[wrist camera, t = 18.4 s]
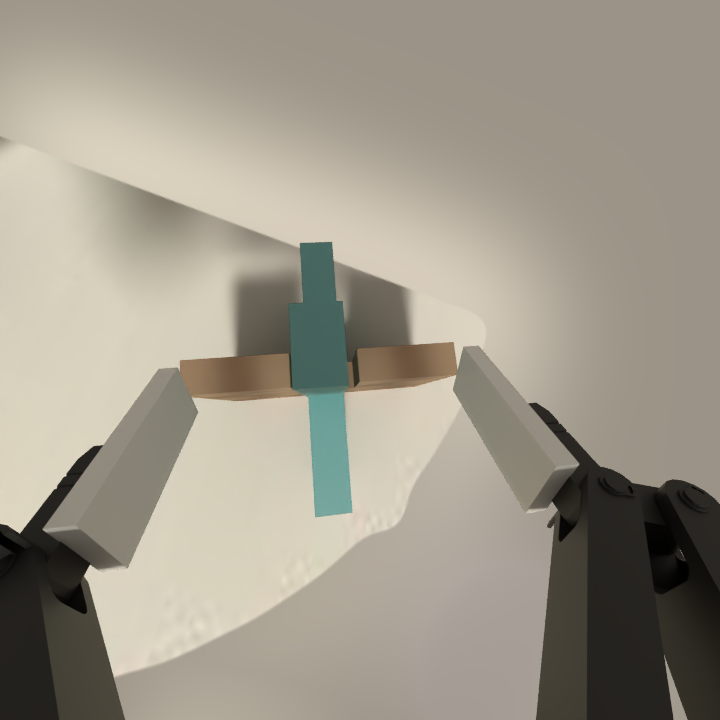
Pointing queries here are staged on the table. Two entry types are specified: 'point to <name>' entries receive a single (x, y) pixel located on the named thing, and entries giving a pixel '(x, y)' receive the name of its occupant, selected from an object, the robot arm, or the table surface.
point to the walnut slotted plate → (275, 372)
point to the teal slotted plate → (322, 376)
